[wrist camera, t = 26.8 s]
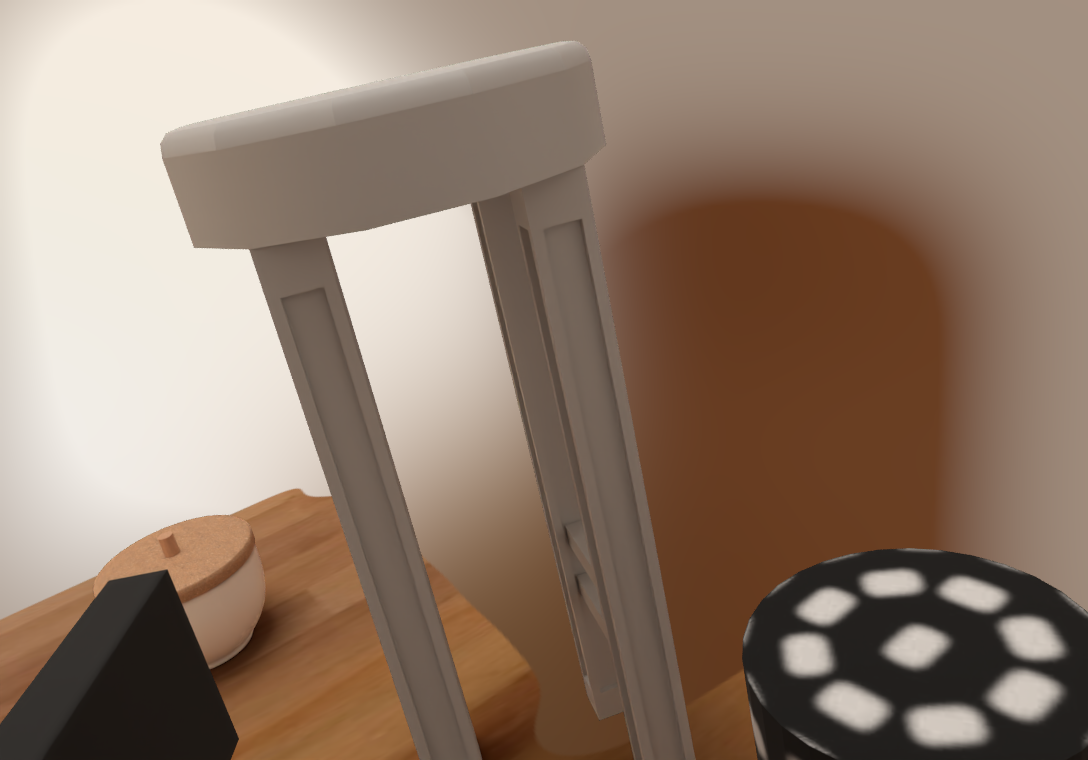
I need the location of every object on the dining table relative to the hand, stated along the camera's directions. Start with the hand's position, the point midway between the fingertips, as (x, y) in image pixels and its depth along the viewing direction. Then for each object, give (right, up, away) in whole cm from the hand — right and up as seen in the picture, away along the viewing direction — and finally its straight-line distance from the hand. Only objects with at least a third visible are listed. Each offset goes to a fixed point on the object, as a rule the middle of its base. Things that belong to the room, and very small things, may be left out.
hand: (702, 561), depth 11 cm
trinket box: (-26, -17, +53) cm, 61 cm away
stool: (-1, -19, +34) cm, 39 cm away
